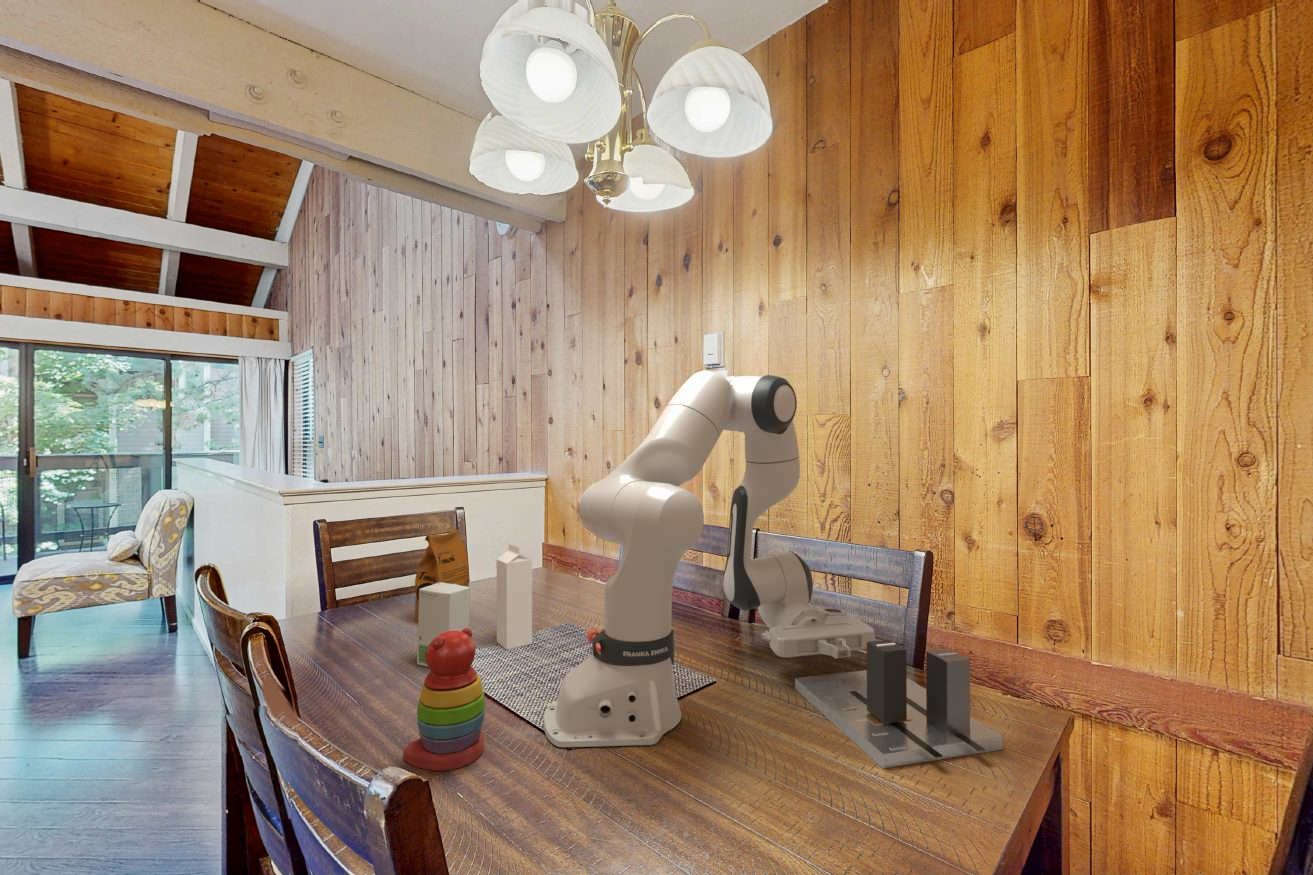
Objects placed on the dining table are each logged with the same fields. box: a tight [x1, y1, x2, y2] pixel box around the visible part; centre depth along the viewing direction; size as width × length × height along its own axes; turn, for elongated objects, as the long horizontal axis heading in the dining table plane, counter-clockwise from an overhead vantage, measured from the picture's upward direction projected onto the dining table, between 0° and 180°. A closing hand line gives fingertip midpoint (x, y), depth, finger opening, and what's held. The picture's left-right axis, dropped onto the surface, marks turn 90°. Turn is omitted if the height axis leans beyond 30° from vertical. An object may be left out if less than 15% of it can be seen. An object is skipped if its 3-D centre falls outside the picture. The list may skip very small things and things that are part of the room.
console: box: [794, 648, 1003, 769], centre depth 94 cm, size 20×28×13 cm
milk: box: [496, 543, 533, 651], centre depth 129 cm, size 6×6×22 cm
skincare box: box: [416, 582, 471, 668], centre depth 118 cm, size 8×7×16 cm
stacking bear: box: [403, 627, 486, 771], centre depth 84 cm, size 11×10×18 cm
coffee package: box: [414, 529, 470, 623], centre depth 147 cm, size 10×12×22 cm
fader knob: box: [866, 639, 908, 724], centre depth 90 cm, size 4×4×11 cm
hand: (843, 653), depth 102 cm, fingers closed
